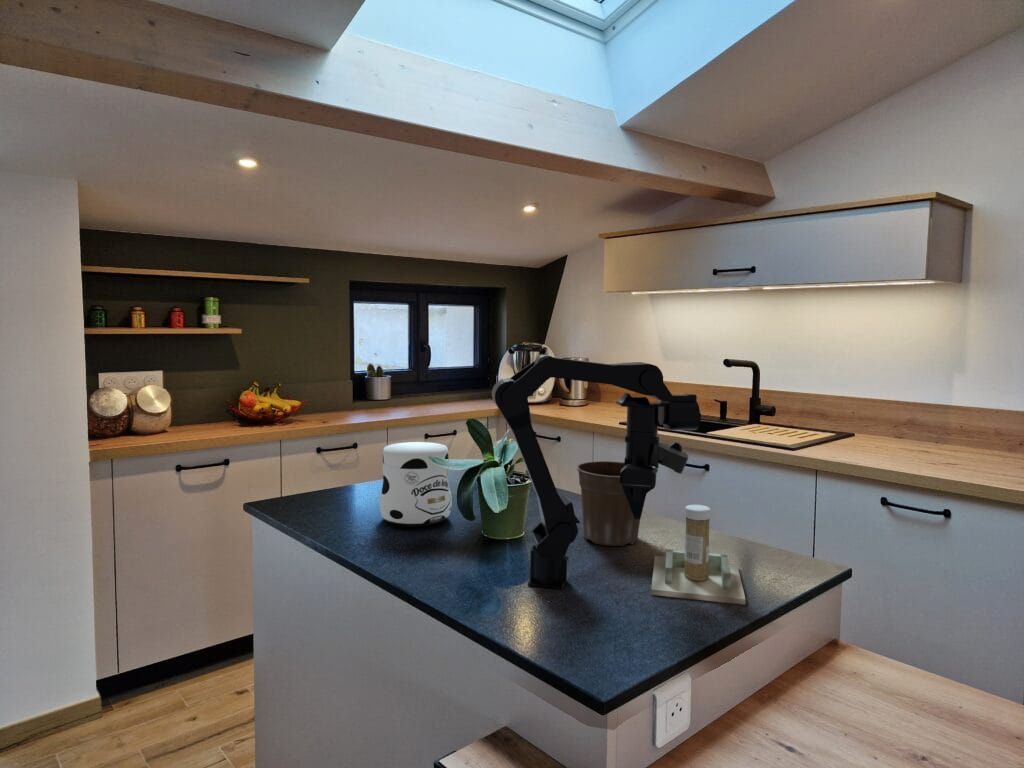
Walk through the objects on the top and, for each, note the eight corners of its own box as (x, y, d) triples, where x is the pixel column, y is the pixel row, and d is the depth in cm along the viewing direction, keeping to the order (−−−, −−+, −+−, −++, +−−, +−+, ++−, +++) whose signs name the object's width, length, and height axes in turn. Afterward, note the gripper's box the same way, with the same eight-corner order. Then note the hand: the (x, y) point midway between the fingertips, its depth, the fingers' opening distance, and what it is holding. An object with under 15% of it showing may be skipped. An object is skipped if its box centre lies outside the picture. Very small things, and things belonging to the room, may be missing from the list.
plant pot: (641, 528, 161) (644, 461, 159) (654, 551, 144) (656, 476, 143) (573, 526, 161) (574, 459, 160) (577, 549, 145) (579, 475, 143)
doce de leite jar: (441, 534, 154) (441, 456, 152) (368, 529, 157) (368, 452, 155) (459, 513, 171) (459, 442, 169) (393, 509, 174) (393, 439, 172)
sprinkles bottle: (713, 578, 127) (715, 507, 125) (697, 583, 124) (699, 511, 123) (694, 571, 130) (696, 502, 129) (678, 576, 128) (680, 506, 127)
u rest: (651, 594, 121) (651, 573, 121) (654, 560, 139) (655, 541, 138) (745, 604, 118) (746, 582, 117) (736, 568, 135) (737, 548, 135)
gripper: (687, 441, 115) (683, 530, 117) (686, 425, 133) (682, 503, 135) (620, 437, 118) (618, 524, 119) (628, 422, 136) (626, 498, 137)
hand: (639, 512), depth 128 cm, fingers open, 9 cm apart
